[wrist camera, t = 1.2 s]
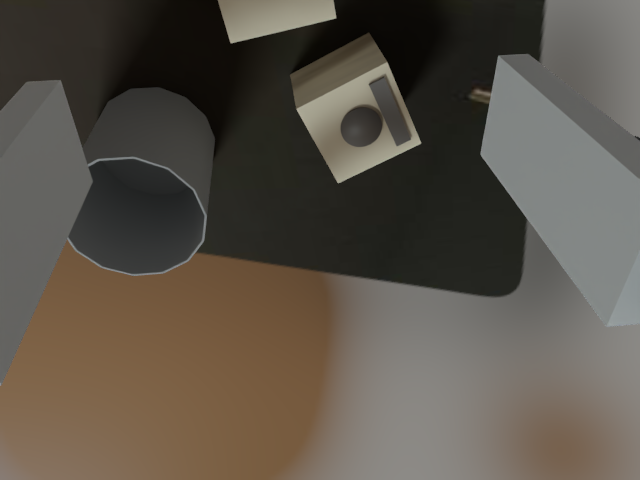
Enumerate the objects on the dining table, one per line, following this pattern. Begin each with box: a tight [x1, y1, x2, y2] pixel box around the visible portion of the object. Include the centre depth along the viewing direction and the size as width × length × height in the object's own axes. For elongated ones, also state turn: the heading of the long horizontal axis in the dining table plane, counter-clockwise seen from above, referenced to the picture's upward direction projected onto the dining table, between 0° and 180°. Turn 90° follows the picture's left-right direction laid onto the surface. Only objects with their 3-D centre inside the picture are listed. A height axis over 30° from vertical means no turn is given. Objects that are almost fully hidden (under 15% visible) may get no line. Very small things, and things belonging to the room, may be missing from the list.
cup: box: [67, 87, 215, 276], centre depth 35 cm, size 8×8×10 cm
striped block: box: [290, 33, 421, 183], centre depth 36 cm, size 6×6×6 cm
